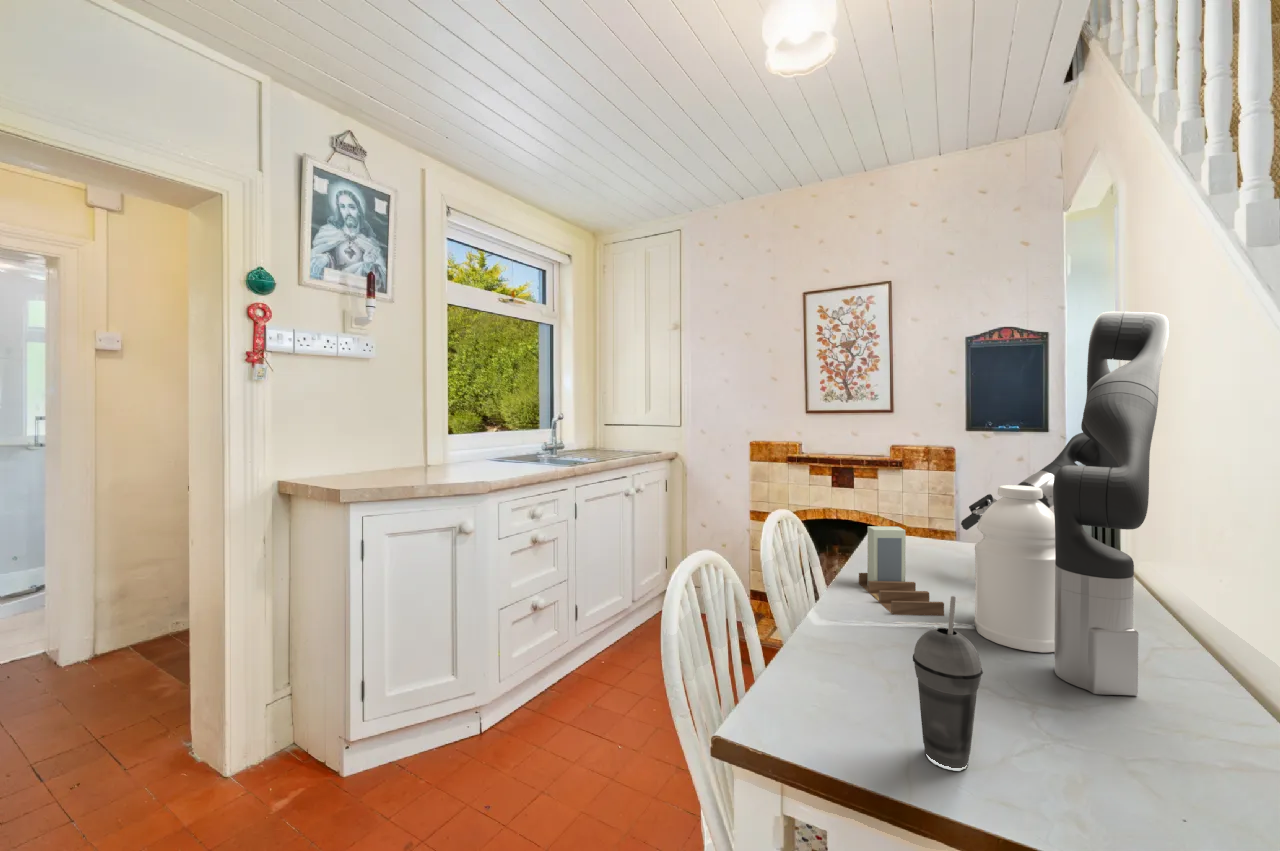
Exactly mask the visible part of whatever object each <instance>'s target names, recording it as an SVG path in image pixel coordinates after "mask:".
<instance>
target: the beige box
mask: <svg viewBox="0 0 1280 851" xmlns="http://www.w3.org/2000/svg"><path fill="white" fill-rule="evenodd" d="M906 539H907V538H906V529H904V528H902V527H900V526H885V525H884V526H880V525H879V526H877V525H876V526H875V525H874V526H873V525H872V526H867V572H866V573H867V585H868V581H902V582H906V548H907V547H906V541H907V540H906Z"/></svg>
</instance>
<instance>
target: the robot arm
mask: <svg viewBox="0 0 1280 851" xmlns="http://www.w3.org/2000/svg"><path fill="white" fill-rule="evenodd" d="M1169 335H1170V322H1169V319H1168V317H1167V316H1166V315H1165V314H1162V313H1158V312H1152V311H1151V312H1149V311H1145V312H1144V311H1103V312H1102V313H1100V314H1099V315H1098V316H1097V317H1096V318H1095V320H1094V323H1093V325H1092V328H1091V331H1090V335H1089V336H1090V337H1089V342H1088V348H1087V349H1088V351H1087V368H1086V399H1085V404H1084V408H1083V413H1082V419H1081V425H1080V426H1081V427H1080V428H1081V431H1082V432H1080V433H1077V434H1075V435H1073V436H1072V437H1071V439H1069V441H1068V442H1067V444H1066V445H1065V446H1064V448H1063V449H1062V451H1061V452H1059V454H1058V455H1057V456H1056V457H1055V458H1054V459H1053V460H1052V461H1051V462H1050V463H1049V464H1047V465H1045V466H1044V467H1042V469H1040V470H1038V471H1037V472H1035V473H1033V474H1030V475H1029V476H1028V477H1027V478H1025V479H1024V480H1022V481H1020V482H1019V483H1018V484H1017V485H1020V486H1032V487H1038V488H1041V489H1042V491H1043V498H1042V499H1038V500H1039V501H1041V502H1042V503H1043V504H1045V505H1046V506H1047V507H1048V508H1049V509H1051V507H1053V513H1054V517H1055V564H1056V565H1055V637H1054V647H1055V652H1054V667H1053V668H1054V671H1053V672H1054V673H1055V675H1056V676H1057V677H1058V678H1060V679H1061V680H1063V681H1065V682H1066V683H1068V684H1071V685H1073V686H1075V687H1078V688H1080V689H1084V690H1086V691H1088V692H1090V693H1092V694H1094V695H1110V696H1113V695H1114V696H1138V695H1139V638H1140V637H1139V632H1138V631H1137V630H1135V629H1134V588H1135V587H1134V583H1135V582H1134V580H1135V579H1134V577H1135V575H1134V574H1135V564H1134V560H1133V558H1132V557H1131V556H1130V555H1129V554H1128V553H1126V552H1124V551H1121V550H1119V549H1117V548H1114V547H1112V546H1110V545H1107V544H1105V543H1103V542H1101V541H1099V540H1097V539H1096V538H1094V537H1092V535H1090V534H1088V533H1087V532H1086V530H1085V529H1084V527H1083V526H1087V527H1088V526H1089V527H1096V528H1103V529H1114V530H1129V531H1130V530H1135V529H1139V528H1140V527H1141V526H1142V524H1143V523H1144V521H1145V519H1146V517H1147V514H1148V510H1149V509H1148V508H1149V496H1150V495H1149V494H1150V459H1151V458H1150V456H1151V447H1152V440H1153V436H1154V435H1153V434H1154V430H1155V426H1156V425H1155V424H1156V419H1157V415H1158V414H1157V413H1158V406H1159V392H1160V391H1159V389H1160V388H1159V387H1160V376H1161V370H1162V365H1163V362H1164V358H1165V354H1166V350H1167V346H1168V342H1169ZM1108 360H1115V361H1128V362H1127V363H1126V364H1123V365H1121V366H1119V367H1118V368H1116V369H1114V370H1112V371H1110V368H1109V364H1108ZM1076 462H1078V463H1080V464H1082V465H1078V464H1077V463H1076ZM997 500H998V499H995V497H993V495H992V494H991V493H989V494H987V495H985V496H982V497H981V498H980V499H978V500H977V501H975V502H973V503H972V504H971V505H969V507H968V509H969V510H970V512H971V514H969V515H968V516H966V517H965V518H964V519H961V520H962V521H961V523H960V525H961V527H962V529H963V530H966V531H967V530H969V529H971V528H972V527H973V526H974V525H976V524H978V523H979V521H980V518H981V517H982V515H983V514H984V512H985V511H986V510H987V509H988V508H989V507H990V506H991V505H992V504H993V503H995V502H996V501H997Z"/></svg>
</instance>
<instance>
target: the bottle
mask: <svg viewBox="0 0 1280 851" xmlns="http://www.w3.org/2000/svg"><path fill="white" fill-rule="evenodd" d="M997 495H998V496H1000V498H999V499H996V500H997V501H996V502H995V503H993V504H992V505H991V506H990V507H989V508H988V509H987V510H986V511H985V512H984V514H981V515H982V517H981V518H980V521H979V522H978V523H977V525H976V528H977V530H978V531H979V532H980V533H981V534H983V536H982V537H983V538H982V539H981V540H980V541H978V542H977V543H976V544H974V553H975V554H974V556H975V557H974V560H975V561H974V562H975V564H974V565H975V570H974V571H975V573H974V574H975V575H974V576H975V577H974V579H975V581H974V582H975V583H974V586H975V588H974V589H975V590H974V592H975V593H974V598H975V601H974V602H975V604H974V606H975V610H974V615H975V616H974V618H973V621H974V626H975V630H976V631H977V633H978V634H979V635H981V636H982V637H984V638H985V639H986V640H989V641H991V642H993V643H996V644H998V645H1000V646H1005V647H1008V648H1011V649H1015V650H1021V651H1026V652H1033V653H1034V652H1035V653H1055V647H1054V637H1055V565H1056V564H1055V517H1054V511H1052V510H1051V508H1048V507H1047V506H1046V505H1045V504H1043V503H1042V502H1041V501H1039V500H1038V499H1042V498H1043V491H1042V489H1041V488H1038V487H1032V486H1020V485H1018V484H1016V485H1015V484H1003V485H1000V486H998V489H997Z"/></svg>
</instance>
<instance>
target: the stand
mask: <svg viewBox="0 0 1280 851" xmlns="http://www.w3.org/2000/svg"><path fill="white" fill-rule="evenodd" d="M858 584H859V586H861V587H862V588H863V589H864V590H865V591H867V593H868V594H869V595H871V596H872V597H873V598H874V599H875V600H876V601H877V602H878V603H879V604H880V605H882V606H883V608H885V609H886V610H887V611H888V612H889V613H890V614H891V615H897V616H898V615H899V616H930V617H931V616H939V617H940V616H941V617H945V602H943V601H930V592H929V591H928V590H927V591H926V590H916V582H915V581H905V582H902V581H868V585H867V572H858Z"/></svg>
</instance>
